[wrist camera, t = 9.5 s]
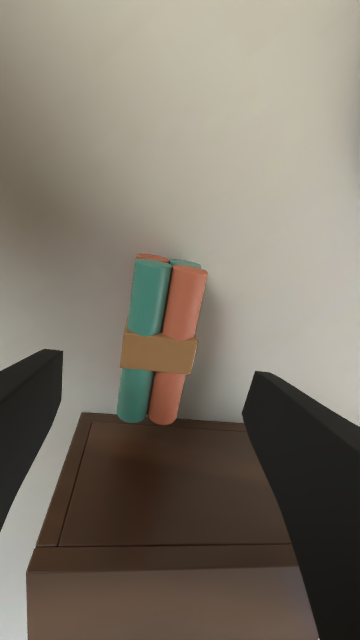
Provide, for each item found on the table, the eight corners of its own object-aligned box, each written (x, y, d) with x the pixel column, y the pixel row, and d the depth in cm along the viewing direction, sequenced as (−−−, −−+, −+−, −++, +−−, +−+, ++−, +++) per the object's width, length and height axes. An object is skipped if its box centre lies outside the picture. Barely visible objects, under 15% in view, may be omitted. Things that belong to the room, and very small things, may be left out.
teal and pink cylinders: (135, 252, 13) (132, 261, 10) (199, 263, 14) (213, 275, 11) (119, 384, 16) (113, 422, 13) (173, 389, 17) (179, 426, 14)
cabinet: (233, 548, 23) (273, 705, 16) (72, 550, 21) (29, 734, 14) (280, 425, 19) (369, 564, 11) (81, 411, 16) (25, 573, 9)
